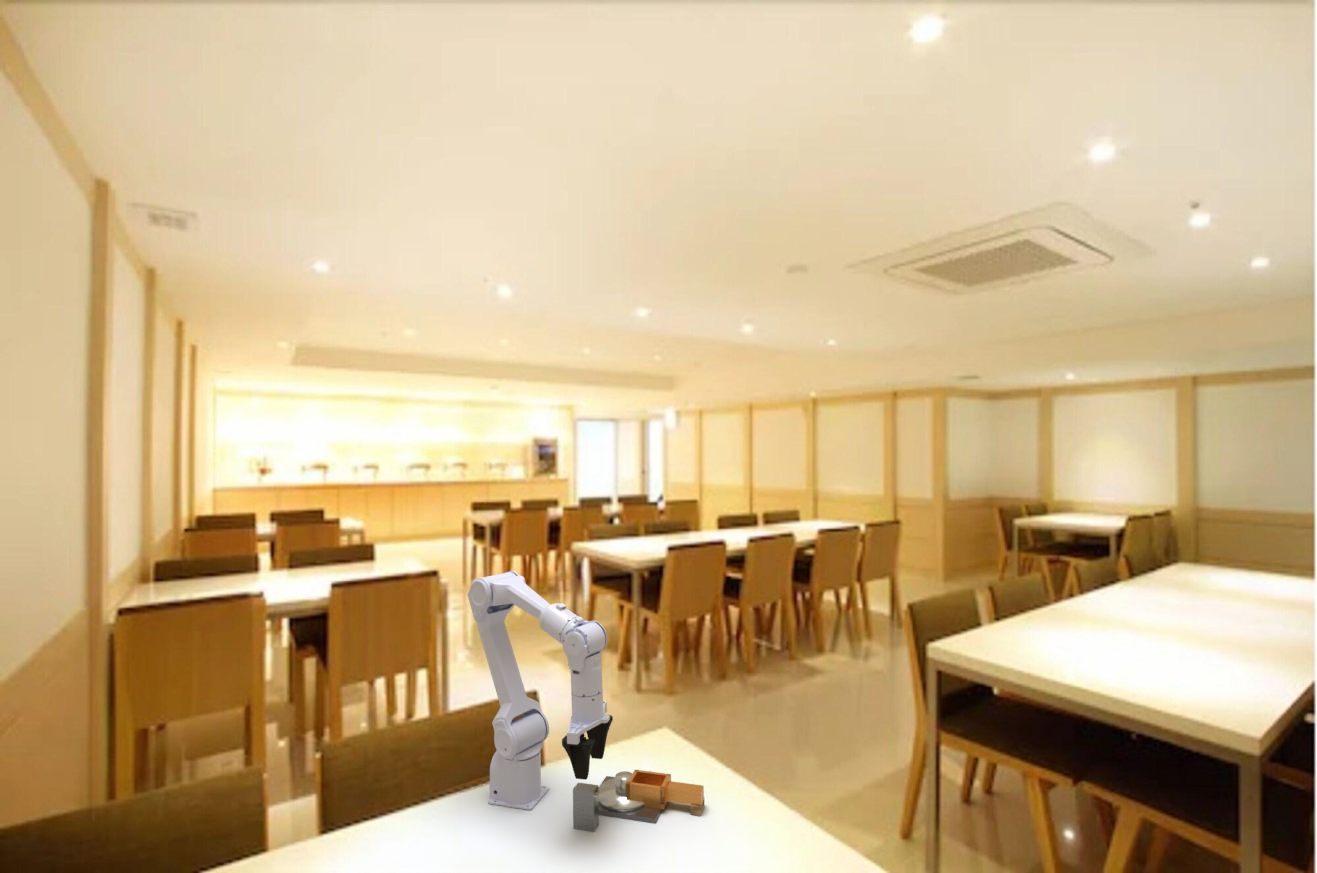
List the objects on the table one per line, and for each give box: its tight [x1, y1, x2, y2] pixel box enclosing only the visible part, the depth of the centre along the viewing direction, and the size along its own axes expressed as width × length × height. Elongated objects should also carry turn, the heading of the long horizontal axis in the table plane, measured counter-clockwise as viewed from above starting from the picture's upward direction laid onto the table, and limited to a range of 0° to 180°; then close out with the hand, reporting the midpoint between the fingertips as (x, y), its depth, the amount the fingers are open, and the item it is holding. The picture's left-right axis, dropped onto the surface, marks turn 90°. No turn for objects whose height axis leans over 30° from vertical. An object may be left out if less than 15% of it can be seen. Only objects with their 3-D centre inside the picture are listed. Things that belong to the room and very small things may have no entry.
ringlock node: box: [598, 769, 705, 824], centre depth 119 cm, size 22×12×5 cm, turn 74°
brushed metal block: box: [572, 782, 600, 833], centre depth 112 cm, size 4×2×7 cm, turn 74°
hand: (589, 767), depth 112 cm, fingers open, 7 cm apart
